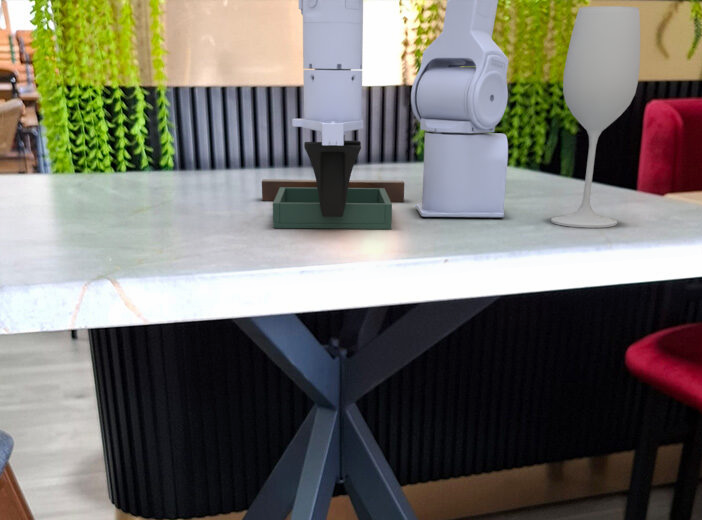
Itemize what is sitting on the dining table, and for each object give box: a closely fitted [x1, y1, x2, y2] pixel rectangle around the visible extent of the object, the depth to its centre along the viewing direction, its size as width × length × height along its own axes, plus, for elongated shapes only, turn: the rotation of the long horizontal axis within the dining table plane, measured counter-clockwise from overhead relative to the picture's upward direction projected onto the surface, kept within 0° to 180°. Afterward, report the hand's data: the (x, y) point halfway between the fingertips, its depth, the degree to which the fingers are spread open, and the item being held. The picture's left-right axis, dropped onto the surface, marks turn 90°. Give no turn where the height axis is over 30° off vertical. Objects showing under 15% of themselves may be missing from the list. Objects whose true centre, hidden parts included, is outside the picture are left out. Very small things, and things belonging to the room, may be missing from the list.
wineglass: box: [550, 5, 641, 229], centre depth 95 cm, size 8×8×21 cm
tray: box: [272, 187, 393, 230], centre depth 100 cm, size 12×14×2 cm
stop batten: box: [261, 178, 405, 203], centre depth 114 cm, size 18×2×2 cm, turn 91°
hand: (332, 216), depth 92 cm, fingers closed
